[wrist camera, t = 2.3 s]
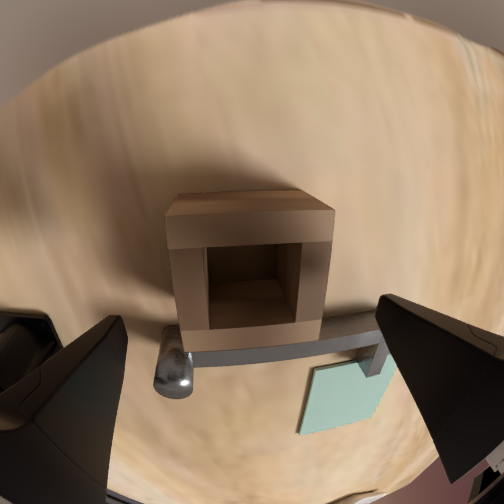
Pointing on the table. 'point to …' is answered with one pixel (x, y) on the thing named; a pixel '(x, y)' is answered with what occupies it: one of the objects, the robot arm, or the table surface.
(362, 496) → the tray
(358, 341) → the hook
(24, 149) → the table surface
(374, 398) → the pad
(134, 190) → the table surface
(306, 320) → the brown square cubby
